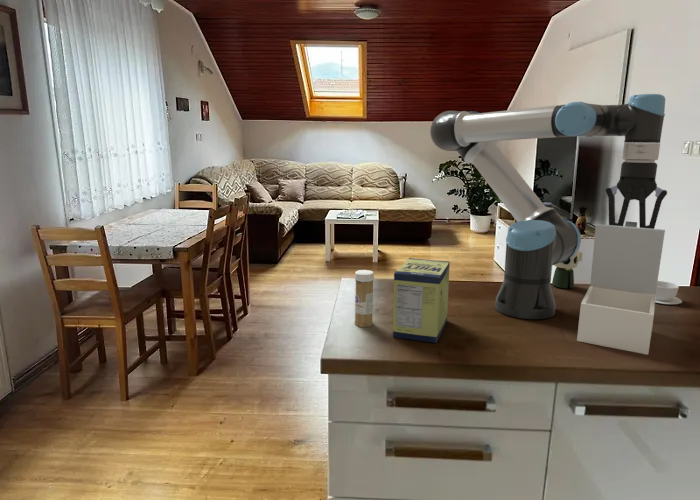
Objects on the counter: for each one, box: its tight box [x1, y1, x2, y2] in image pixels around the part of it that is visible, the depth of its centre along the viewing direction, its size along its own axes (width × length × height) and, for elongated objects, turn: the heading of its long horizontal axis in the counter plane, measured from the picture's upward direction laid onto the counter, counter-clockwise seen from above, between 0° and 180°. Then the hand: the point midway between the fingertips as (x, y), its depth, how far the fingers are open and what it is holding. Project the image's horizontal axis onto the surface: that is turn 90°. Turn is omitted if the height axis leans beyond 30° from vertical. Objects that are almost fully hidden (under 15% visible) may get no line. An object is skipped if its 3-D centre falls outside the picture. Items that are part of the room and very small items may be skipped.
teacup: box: [651, 280, 683, 305], centre depth 142 cm, size 10×10×5 cm
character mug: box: [551, 248, 584, 289], centre depth 153 cm, size 11×7×13 cm, turn 99°
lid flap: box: [589, 221, 666, 295], centre depth 121 cm, size 16×14×9 cm
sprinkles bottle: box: [354, 269, 375, 328], centre depth 121 cm, size 5×5×13 cm
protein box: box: [392, 257, 451, 344], centre depth 119 cm, size 10×16×16 cm
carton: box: [576, 286, 656, 355], centre depth 115 cm, size 14×16×9 cm
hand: (627, 256), depth 125 cm, fingers closed on lid flap, 2 cm apart
